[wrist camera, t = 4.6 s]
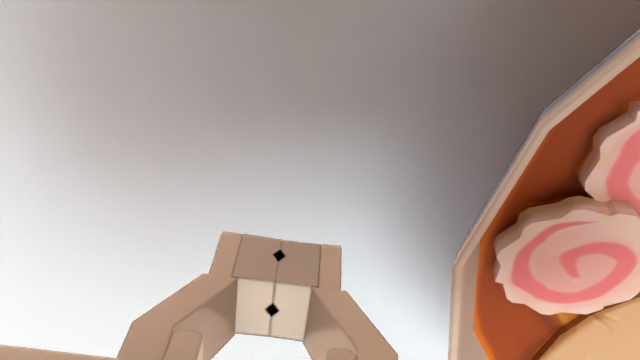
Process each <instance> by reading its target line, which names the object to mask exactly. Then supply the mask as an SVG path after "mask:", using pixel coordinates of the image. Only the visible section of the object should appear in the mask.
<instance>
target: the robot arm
mask: <svg viewBox="0 0 640 360" xmlns="http://www.w3.org/2000/svg"><path fill="white" fill-rule="evenodd" d="M341 255H342V248H341V246H337V245H328V244H321V245H320V244H314V243H305V242H297V241H289V240H282V239H275V238H268V237H261V236H255V235H248V234H239V233H232V232H225V231H223V233H222V234H221V236H220V240H219V243H218V246H217V249H216V252H215V256H214V259H213V262H212V265H211V268H210V271H209V274H202V275H200V276H199V277H197V278H196V279H194V280H193V281H191V282H190V283H189V284H187V285H186V286H184V287H183V288H181V289H180V290H178V291H177V292H175V293H174V294H172V295H171V296H170V297H168V298H167V299H165V300H164V301H162V302H161V303H159V304H158V305H156V306H155V307H153V308H152V309H151V310H149V311H148V312H146V313H145V314H143V315H142V316H140V317H139V318H137V319H136V320H134V321H133V322H132V324H131V326H130V328H129V331H128V333H127V335H126V338H125V340H124V342H123V344H122V347H121V349H120V351H119V353H118V356H117V358H110V357H102V356H93V355H85V354H76V353H68V352H59V351H51V350H42V349H34V348H25V347H17V346H8V345H0V360H211V359H212V358H213V357H214V356H215V355H216V354H217V353H218V352H219V351H220V350H221V349H222V348H223V346H224V345H225V344H226V343H227V342H228V341H229V340H230V339H231V338H232V337H233V336H234V335H235V334H246V335H257V336H268V337H275V338H282V339H289V340H295V341H302V342H303V344H304V346H305V348H306V350H307V351H308V353H309V355H310V357H311V359H312V360H398V355H397V353H396V352H395V351H394V349H393V348H392V347H391V346H390V344H389V343H388V342H387V341H386V339H385V338H384V337H383V336H382V334H381V333H380V332H379V331H378V330H377V328H376V327H375V326H374V325H373V323H372V322H371V321H370V320H369V318H368V317H367V316H366V315H365V313H364V312H363V311H362V310H361V309H360V307H359V306H358V305H357V304H356V302H355V301H354V300H353V299H352V297H351V296H350V295H349V294H348V292H347V291H341Z"/></svg>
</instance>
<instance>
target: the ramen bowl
mask: <svg viewBox="0 0 640 360" xmlns="http://www.w3.org/2000/svg"><path fill="white" fill-rule="evenodd" d="M448 360H640V29H639V30H637V31H636V32H635V33H634V34H633V35H631V36H630V37H629V38H628V39H627V40H625V41H624V42H623V43H622V44H621V45H620V46H618V47H617V48H616V49H615V50H614V51H612V52H611V53H610V54H609V55H608V56H606V57H605V58H604V59H603V60H602V61H601V62H599V63H598V64H597V65H596V66H595V67H593V68H592V69H591V70H590V71H589V72H587V73H586V74H585V75H584V76H583V77H582V78H580V79H579V80H578V81H577V82H576V83H574V84H573V85H572V86H571V87H570V88H568V89H567V90H566V91H565V92H564V93H562V94H561V95H560V96H559V97H558V98H557V99H555V100H554V101H553V102H552V103H551V104H549V105H548V106H547V107H546V108H545V109H544V110H543V111H542V113H541V115H540V116H539V118H538V120H537V121H536V123H535V124H534V126H533V128H532V129H531V131H530V133H529V134H528V136H527V138H526V139H525V141H524V142H523V144H522V146H521V147H520V149H519V151H518V152H517V154H516V156H515V157H514V159H513V160H512V162H511V164H510V165H509V167H508V169H507V170H506V172H505V173H504V175H503V177H502V178H501V180H500V182H499V183H498V185H497V187H496V188H495V190H494V191H493V193H492V195H491V196H490V198H489V200H488V201H487V203H486V204H485V206H484V208H483V209H482V211H481V213H480V214H479V216H478V218H477V219H476V221H475V222H474V224H473V226H472V227H471V229H470V231H469V232H468V234H467V237H466V239H465V241H464V243H463V245H462V247H461V249H460V252H459V254H458V256H457V258H456V260H455V262H454V264H453V270H452V290H451V310H450V330H449V350H448Z"/></svg>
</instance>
